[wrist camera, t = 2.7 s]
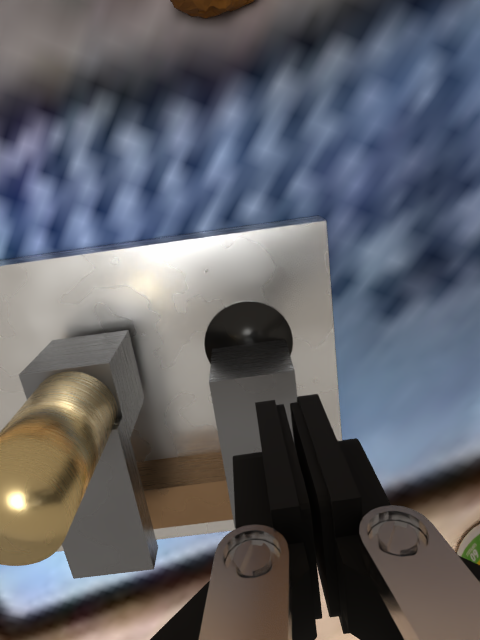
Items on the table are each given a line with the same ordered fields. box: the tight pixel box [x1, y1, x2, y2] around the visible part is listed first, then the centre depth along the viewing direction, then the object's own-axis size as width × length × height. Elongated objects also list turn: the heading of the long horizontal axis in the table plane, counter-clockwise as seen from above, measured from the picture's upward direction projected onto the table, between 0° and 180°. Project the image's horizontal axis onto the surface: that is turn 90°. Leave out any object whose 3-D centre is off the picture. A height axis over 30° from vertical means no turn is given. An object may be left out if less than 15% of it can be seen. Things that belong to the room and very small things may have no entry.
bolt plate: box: [0, 216, 342, 552], centre depth 19 cm, size 25×14×4 cm, turn 98°
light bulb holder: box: [0, 330, 158, 578], centre depth 16 cm, size 3×8×8 cm, turn 8°
